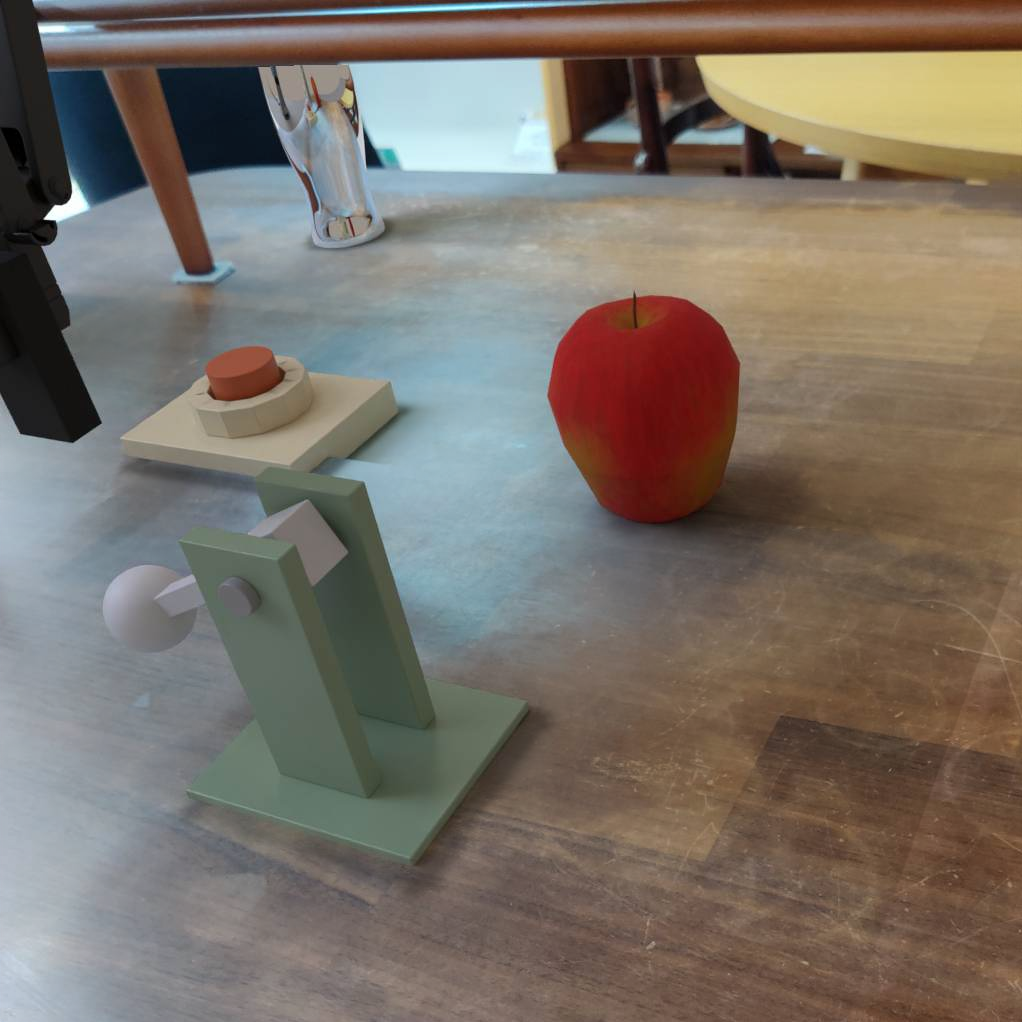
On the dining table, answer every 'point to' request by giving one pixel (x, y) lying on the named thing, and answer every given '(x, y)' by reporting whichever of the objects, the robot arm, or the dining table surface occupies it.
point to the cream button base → (266, 423)
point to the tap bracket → (336, 685)
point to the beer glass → (325, 149)
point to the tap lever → (174, 600)
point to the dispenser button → (243, 373)
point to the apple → (647, 404)
